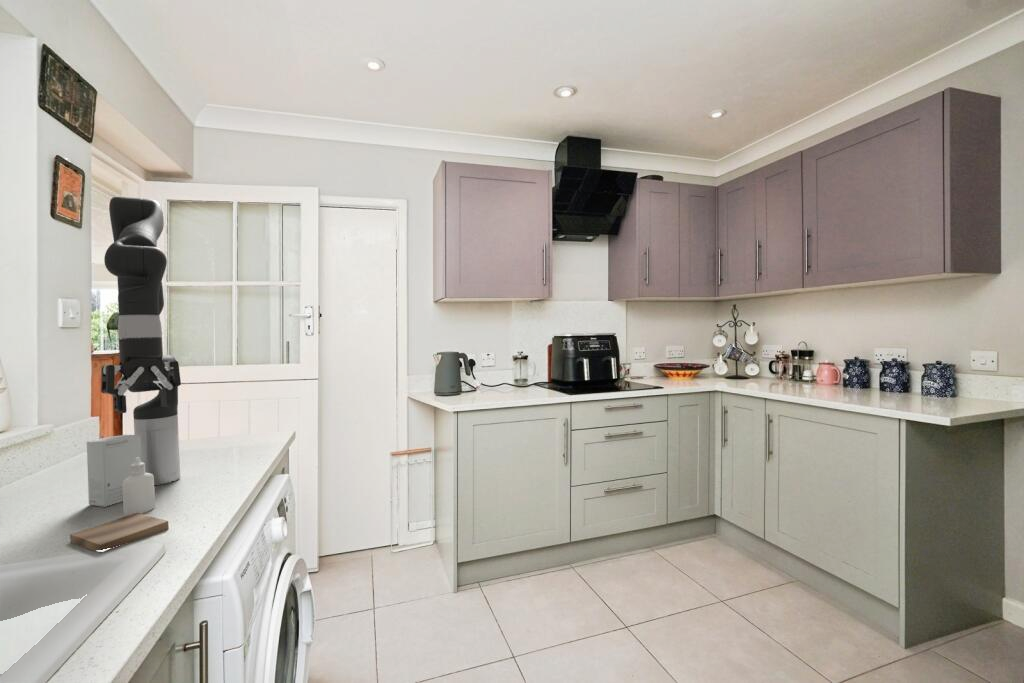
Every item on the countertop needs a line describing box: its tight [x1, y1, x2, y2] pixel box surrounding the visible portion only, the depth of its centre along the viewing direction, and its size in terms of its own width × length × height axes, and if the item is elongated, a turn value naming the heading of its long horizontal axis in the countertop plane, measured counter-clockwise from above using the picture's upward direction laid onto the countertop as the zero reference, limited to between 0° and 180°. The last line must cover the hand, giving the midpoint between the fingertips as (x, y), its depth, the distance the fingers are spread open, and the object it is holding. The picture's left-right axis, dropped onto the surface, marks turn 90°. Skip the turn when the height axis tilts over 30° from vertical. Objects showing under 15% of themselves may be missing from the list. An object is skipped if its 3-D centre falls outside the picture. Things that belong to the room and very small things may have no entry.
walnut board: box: [69, 513, 169, 551], centre depth 90 cm, size 11×11×2 cm
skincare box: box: [86, 434, 141, 508], centre depth 109 cm, size 8×6×15 cm
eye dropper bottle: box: [122, 457, 156, 517], centre depth 101 cm, size 4×6×12 cm
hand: (144, 409), depth 103 cm, fingers open, 8 cm apart
